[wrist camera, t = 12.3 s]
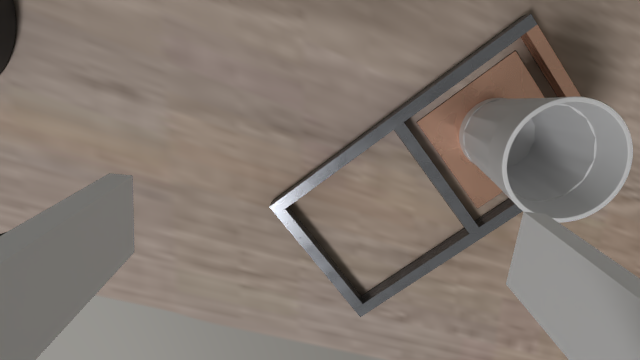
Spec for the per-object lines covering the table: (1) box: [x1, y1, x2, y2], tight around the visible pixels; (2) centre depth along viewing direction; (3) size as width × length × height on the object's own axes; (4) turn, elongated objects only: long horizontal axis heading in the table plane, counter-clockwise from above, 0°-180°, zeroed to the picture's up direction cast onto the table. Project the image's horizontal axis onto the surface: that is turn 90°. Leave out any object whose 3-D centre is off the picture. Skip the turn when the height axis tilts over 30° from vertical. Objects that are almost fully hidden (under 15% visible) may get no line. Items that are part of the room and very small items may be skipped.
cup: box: [459, 97, 633, 222], centre depth 33 cm, size 8×8×12 cm
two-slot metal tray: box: [270, 14, 581, 317], centre depth 39 cm, size 27×14×2 cm, turn 127°
